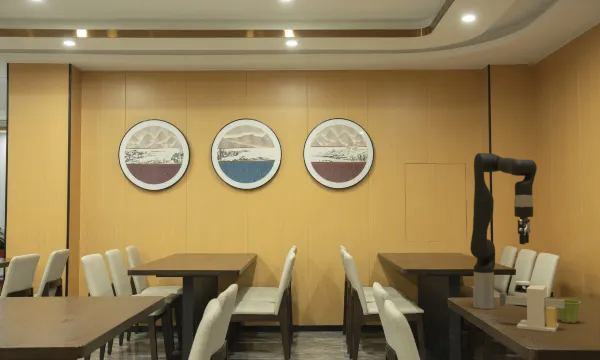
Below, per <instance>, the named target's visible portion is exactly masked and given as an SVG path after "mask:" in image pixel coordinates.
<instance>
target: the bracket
mask: <svg viewBox="0 0 600 360" xmlns="http://www.w3.org/2000/svg"><path fill="white" fill-rule="evenodd" d="M547 296H548V293H547V285H537V284H530V286H529V287H528V288H527V306H526V315H527V316H526V319H521V320H520V322H518V323H517V325H516V329H521V330H532V331H541V332H550V331H551V332H550V333H555V332H556V331H557V330H558V328H559V322H557V325H556V327H555V328H550V327H547V320H546V308H547V307H545V303H544V298H547V299H548V297H547Z"/></svg>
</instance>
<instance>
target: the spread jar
mask: <svg viewBox="0 0 600 360" xmlns="http://www.w3.org/2000/svg"><path fill="white" fill-rule="evenodd" d="M530 285H531V281H529V280H516V281H515V286H514V295H513V296H520V297H527V288H528V287H529V286H530ZM517 306H518V307H527V305H517Z"/></svg>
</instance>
